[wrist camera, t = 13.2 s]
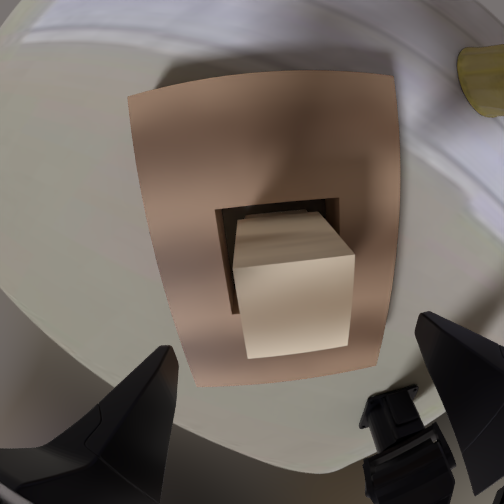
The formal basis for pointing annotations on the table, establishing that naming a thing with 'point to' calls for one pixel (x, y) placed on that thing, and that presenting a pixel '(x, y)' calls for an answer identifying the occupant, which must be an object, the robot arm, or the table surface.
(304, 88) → the board
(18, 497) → the robot arm
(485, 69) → the vase
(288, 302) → the peg
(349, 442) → the table surface
